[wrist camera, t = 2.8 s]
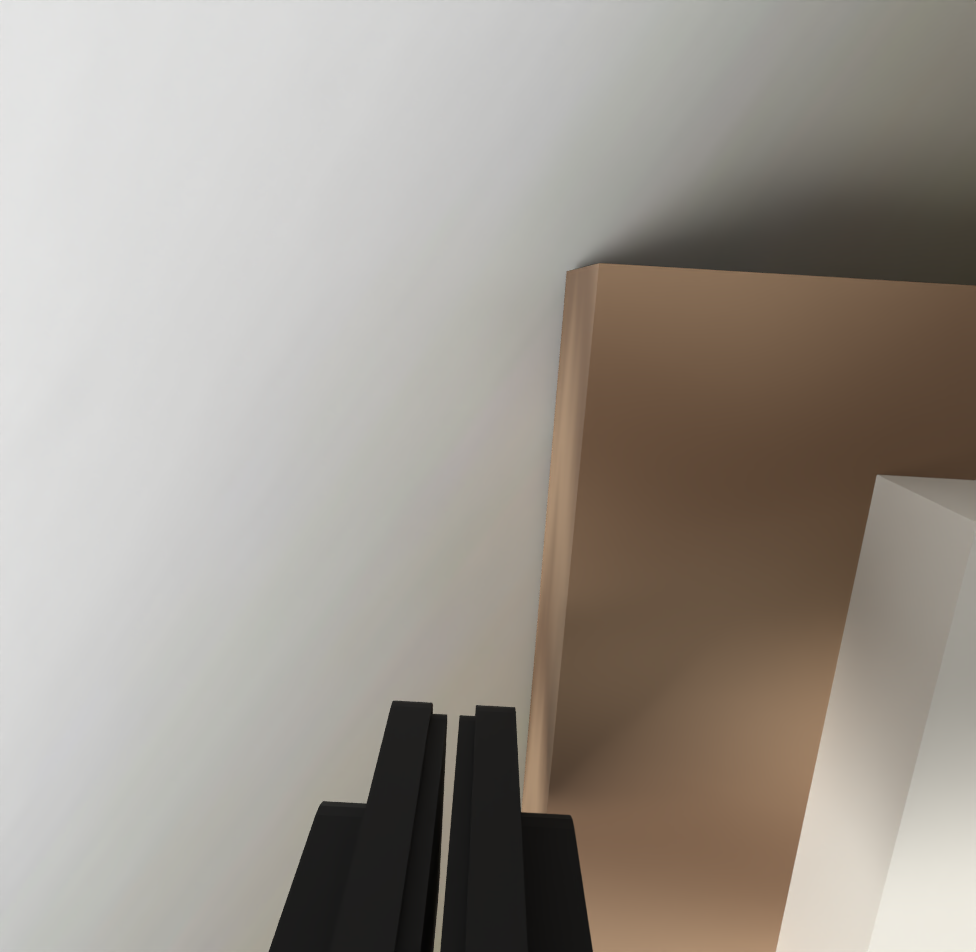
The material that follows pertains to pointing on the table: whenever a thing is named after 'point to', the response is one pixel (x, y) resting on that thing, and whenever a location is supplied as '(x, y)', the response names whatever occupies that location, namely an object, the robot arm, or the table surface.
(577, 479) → the board
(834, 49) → the table surface
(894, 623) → the cream white rectangular block
